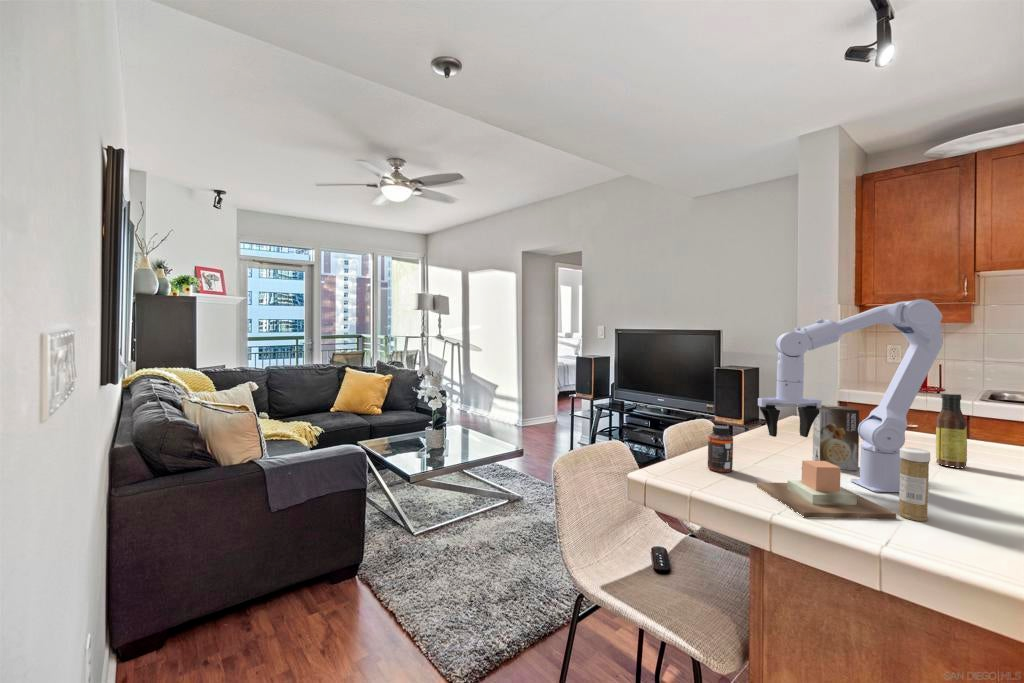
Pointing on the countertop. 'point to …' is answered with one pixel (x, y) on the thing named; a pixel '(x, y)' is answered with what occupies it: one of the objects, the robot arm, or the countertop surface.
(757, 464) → the countertop surface
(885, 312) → the robot arm
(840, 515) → the walnut base board
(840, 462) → the coffee box
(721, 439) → the supplement bottle
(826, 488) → the terracotta cube
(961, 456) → the sauce bottle
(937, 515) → the countertop surface
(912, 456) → the sprinkles bottle
